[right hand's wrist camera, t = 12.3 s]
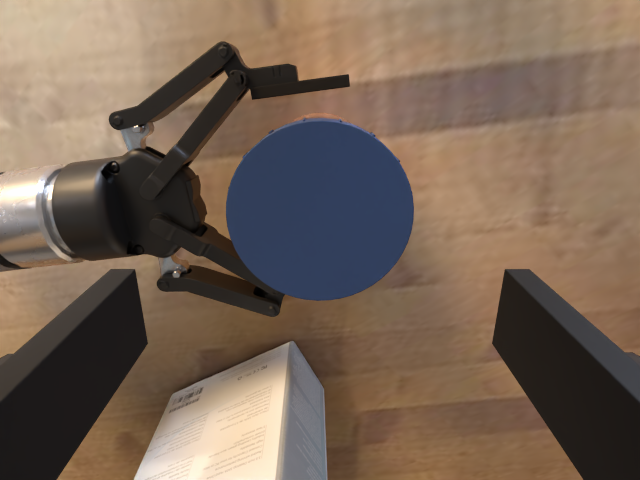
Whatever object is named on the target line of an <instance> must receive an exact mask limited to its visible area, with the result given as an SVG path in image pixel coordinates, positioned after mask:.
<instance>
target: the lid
mask: <svg viewBox="0 0 640 480" xmlns="http://www.w3.org/2000/svg"><path fill="white" fill-rule="evenodd" d="M399 162H400V161H399V160H398V159H397V158H396V157H395V156H394V155H393V153H392V152H391V151H390V150H389V149H388V148H387V147H386V146H385V145H384V144H383V143H382V142H380V141H379V140H378V139H377V138H376V137H375V135H374V134H373V133H372V132H371V133H369V132H367V131H365V130H364V129H362V128H360V127H358V126H356V125H353V124H351V123H348V122H345V121H342V120H341V119H339V120H336V119H328V118H310V119H306V118H304V119H303V120H298V121H295V122H292V123H289V124H286V125H284V126H282V127H280V128H278V129H276V130H271V131H270V132H269V134H268V135H267V136H265V137H264V138H263V139H262V140H261V141H260V142H258V143H257V144H256V145H255V146H254V147H253V148H252V149H251V150H250V151H249V152H247V153H246V154H245V155H244V156H243V160H242V161H241V163H240V164H239V166H238V167H237V169H236V171H235V173H234V176H233V178H232V180H231V183H230V186H229V188H228V189H229V190H228V195H227V202H226V218H227V227H228V231H229V234H230V238H231V241H232V243H233V245H234V248H235V250H236V252H237V253H238V255H239V257H240V259H241V260H242V261H243V263H244V264H245V265H246V267H247V268H248V269H249V270H250V271H251V272H252V273H253V274H254V275H255V276H256V277H257V278H259V279H260V280H261V281H262V282H264V283H265V284H267V285H268V286H270V287H271V288H273V289H275V290H277V291H279V292H281V293H283V294H286V295H289V296H292V297H295V298H300V299H305V300H316V301H320V300H334V299H340V298H344V297H347V296H351V295H354V294H356V293H358V292H361V291H363V290H365V289H367V288H368V287H370V286H372V285H373V284H375V283H376V282H377V281H379V280H380V279H381V278H382V277H384V276H385V275H386V274H387V273H388V272H389V271H390V270H391V269H392V267H393V266H394V265H395V264H396V263H397V261H398V259H399V258H400V256H401V255H402V253H403V251H404V249H405V247H406V245H407V243H408V240H409V237H410V234H411V230H412V224H413V214H414V205H413V196H412V191H411V187H410V184H409V181H408V179H407V176H406V174H405V172H404V170H403V168H402V166H401V165H400V163H399Z"/></svg>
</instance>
